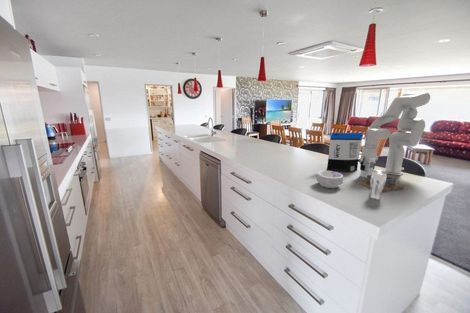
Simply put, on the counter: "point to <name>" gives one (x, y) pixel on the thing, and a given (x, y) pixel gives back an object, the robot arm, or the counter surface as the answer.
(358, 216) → the counter surface
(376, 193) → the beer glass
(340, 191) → the counter surface
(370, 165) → the syrup box
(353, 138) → the protein powder
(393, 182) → the holder
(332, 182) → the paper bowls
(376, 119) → the robot arm
